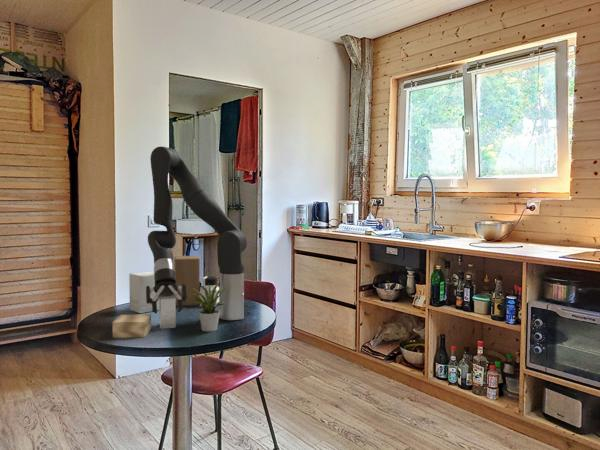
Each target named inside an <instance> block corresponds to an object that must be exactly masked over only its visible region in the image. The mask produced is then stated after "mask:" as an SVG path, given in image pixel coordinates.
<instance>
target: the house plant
mask: <svg viewBox="0 0 600 450" xmlns="http://www.w3.org/2000/svg"><path fill="white" fill-rule="evenodd" d="M208 285H209V284H208ZM217 287H218V288H219V283H217V284H216V285H215V286H214V288H213V290H212V293H211V290H210V286H209V293H208V291H207V289H206V288H205V287H203V285H200V288H202V289H203V290H204V291H205V295H206V298H207V300H206V298H205V297H204V296H203V295H202V294H201V293H200V292H199V291H197V290H196V289H195V290H196V291H197V292H198V293H199V295H200V296H201V297H202V299H203V300H204V301H202V299H201V298H200V297H198V296H197V295H196V294H194V293H192V294H193V295H194V297H195V298H196V299H197V300H196V301H197V302H196V303H200V304H201V305H202V306H200V304H199V305H197V308H200V307H201V308H202V310H201V309H200V311H199V310H198V313H199V314H198V315H199V321H200V327H201V331H202V332H214V331H217V329H218V326H219V325H218V324H219V319H220V318H219V314H220V311H219V309H216V308H218V307H219V305H225V304H219V303H220V302H223V300H222V301H220V302H218V303H217V304H215V303H216V301H217V299H218V297H219V296H220V295H221V294H222V293H223V292H224V290H225V289H227V288H229V287H227V288H225V289H223V290H222V291H221V293H220V290H221V289H222V288H221V289H219V290H218V292H217V294H216V297H215V298H214V295H215V294H214V293H215V292H216V291H215V290H216V288H217ZM218 288H217V289H218ZM193 289H194V288H193ZM219 293H220V294H219ZM218 294H219V295H218ZM213 298H214V300H213ZM194 302H195V301H194ZM225 302H226V301H225ZM215 305H216V306H215Z"/></svg>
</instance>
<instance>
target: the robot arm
mask: <svg viewBox="0 0 600 450" xmlns="http://www.w3.org/2000/svg"><path fill="white" fill-rule="evenodd" d="M150 168H151V176H152V185H153V196H154V197H153V202H154V203H153V223H154V224H156V225H159V226H163V227H165V229H166V230H152V231H150V232H149V233H148V236H147V244H148V246H149V248H150V251H151V253H152V256H153V272H154V281H155V286H154V287H149V286H146V303H147V304H149V303H150V304H152V311H151V312H152V313H154V314H158V310H157V303H156V302H157V301H158V300H159V295H160V294H171V293H173V294H175V295H176V301H177V306H176V307H177V312H178V313H180V312H181V311H182V310H183V306H182V302H183V301H184V302H185V301H186V298H187V295H186V286H185V284H183V285H182V286H177V284H176V277H175V267H174V256H173V254H174V253H173V251H172V250H171V249H173V248H174V247H175V246H176V243H177V239H176V234H175V230H174V226H173V200H172V199H173V198H172V194H171V191H170V187H169V175H170V176H171V177H172V178H173V179H174V180H175V182H176V183H177V185H178V187H179V190H180V193H181V195H182V198H183V200H184V202H185V203H186V204H187V206H188V207H189V208H190V210H191V211H192V212H193V213H194V214H195V215H196V216H197V217H198V218H199V219H200V220H202V221H203V222H204V223H206V224H207V225H208V226H209V227H211V228H212V229H213V230H214V231H215V232H216V234H217V235H218V236H219V237H218V239H217V244H216V246H217V247H216V248H217V249H216V252H217V253H216V255H217V266H218V269H219V283H218V287H219V289H221V288H222V289H221V290H220V293H221V291H222V290H223V289H225V288H227V287H229V288H227V289H225V290H224V292H223V293H222V294H221V295H220V296H219V302H220V301H222V300H223V302H220V303H219V304H225V305H219V306H218V308H219V309H218V310H219V311H220V314H219V319H220V320H223V321H239V320H244V319H245V318H244V317H245V315H244V313H245V310H244V309H245V305H244V304H245V266H244V264H243V263H242V252H244V251H245V250H246V248H247V246H248V240H247V236H246V235H245V234H244V232H243V231H242V230H241V229H239V228H238V226H237V225H236V224H235V223H234V222H233V221H232V220H231V219H230V217H228V216H227V215H226V213H225V212H224V211H223V209H222V207H220V205H219V204H218V202H217V201H216V200H215V199H214V197H213V196H212V195H211V193H210V192H209V191H208V190H207V189H206V188H205V186H204V185H203V184H202V182H201V181H199V179H198V178H197V177H196V175H195V174H194V173H193V172H192V171H191V169H190V168H189V166H188V165H187V163H186V162H185V160H184V158H183V157H182V156H181V154H180V153H179V152H178V151H177V150H176V149H174V148H171V147H166V146H157V147H154V149H152V151H151V154H150ZM178 289H179V290H180V292H182V297H181V296H180V295H179V294H178V292H177V290H178ZM152 291H154V292H155V293H156V294H155V296H154V298H153V299H152V298H150V294H151V293H152ZM220 293H219V294H220ZM225 301H226V302H225Z"/></svg>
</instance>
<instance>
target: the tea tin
mask: <svg viewBox="0 0 600 450" xmlns="http://www.w3.org/2000/svg"><path fill="white" fill-rule="evenodd" d="M176 307H177V306H176V295H175V294H173V293H171V294H160V295H159V310H158V311H159V316H158V318H159V320H158V321H159V325H158V326H159V328H160V329H161V330H163V329H172V328H173V329H174V328H176V318H177V317H176Z"/></svg>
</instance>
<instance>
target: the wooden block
mask: <svg viewBox="0 0 600 450" xmlns="http://www.w3.org/2000/svg"><path fill="white" fill-rule="evenodd" d="M200 260H201V259H200V257H199V256H198V255H175V256H173V263H174V267H175V277H176V284H177V286H182V285H183V284H185V286H186V295H187V298H186V301H185V302H184V301H183V302H182V307H186V306H187V307H188V306H200V303H196V302H197V301H196V300H197V299H196V298H195V297H194V295H193V294H192V293H194V294H196V295H197V296H198V297H200V295H199V293H198V292H197V291H199V292H200V290H201V284H200V283H201V280H200V279H201V276H200V274H201V272H200V271H201V270H200V269H201V268H200V267H201V266H200V265H201V261H200ZM193 288H194V289H193ZM195 289H196V290H197V291H196V290H195ZM177 292H178V294H179V295H180V296H181V297H182V292H180V290H179V289H178V290H177ZM194 301H195V302H194ZM176 307H178V306H177V301H176Z"/></svg>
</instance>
